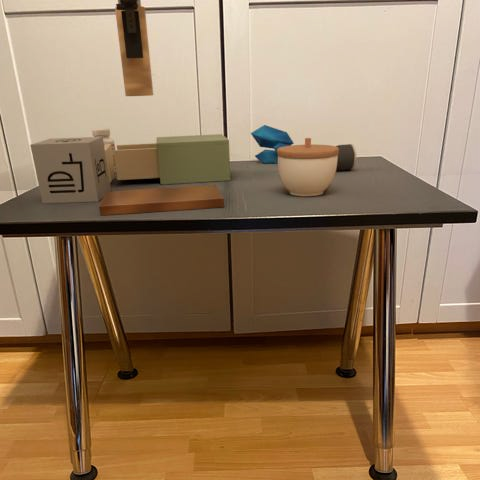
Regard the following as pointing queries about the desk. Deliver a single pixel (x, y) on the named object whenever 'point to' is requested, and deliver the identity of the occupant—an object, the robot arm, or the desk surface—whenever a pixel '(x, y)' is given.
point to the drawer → (133, 161)
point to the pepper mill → (135, 59)
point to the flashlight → (346, 157)
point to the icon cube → (71, 169)
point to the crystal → (270, 143)
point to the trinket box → (307, 167)
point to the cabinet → (193, 159)
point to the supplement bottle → (105, 139)
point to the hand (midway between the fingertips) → (135, 58)
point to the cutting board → (161, 200)
